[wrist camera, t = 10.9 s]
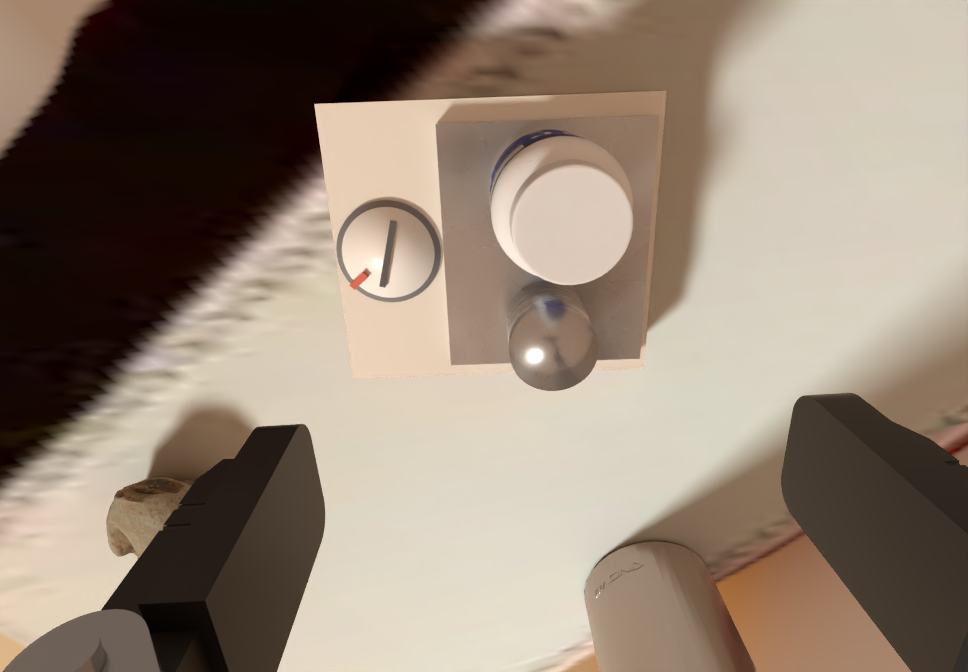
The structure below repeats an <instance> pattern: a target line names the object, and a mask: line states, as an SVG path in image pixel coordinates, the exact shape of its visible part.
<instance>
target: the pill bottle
mask: <svg viewBox="0 0 968 672" xmlns="http://www.w3.org/2000/svg"><path fill="white" fill-rule="evenodd" d="M489 192H490V210H491V221H492V225H493V229H494V232H495V235H496V238H497V240H498V242H499V244H500V246H501V247H502V249H503V250H504V252H505V253H506V254H507V255H508V256H509V258H510V259H511V260H512V261H513V262H514V263H516V264H517V265H518V266H519V267H521V268H522V269H524V270H525V271H527V272H529V273H531V274H533V275H535V276H538V277H540V278H542V279H544V280H546V281H549V282H552V283H556V284H561V285H577V284H583V283H587V282H589V281H592V280H595V279H597V278H599V277H601V276H602V275H604V274H605V273H607V272H608V271H609V270H611V269H612V268H613V267H614V266H615V265H616V264H617V263H618V261H619V260H620V259H621V257H622V256H623V254H624V253H625V251H626V249H627V247H628V245H629V242H630V239H631V236H632V231H633V196H632V190H631V186H630V183H629V180H628V178H627V176H626V174H625V172H624V170H623V168H622V167H621V165H620V164H619V163H618V162H617V160H616V159H615V158H614V157H613V156H612V155H611V154H610V153H609V152H608V151H606V150H605V149H604V148H602V147H601V146H599V145H598V144H596V143H594V142H592V141H589V140H587V139H584V138H581V137H579V136H576V135H573V134H571V133H568V132H565V131H561V130H556V129H543V130H537V131H533V132H530V133H527V134H525V135H523V136H521V137H519V138H518V139H516V140H515V141H513V142H512V143H511V144H510V145H509V146H508V147H507V148H506V149H505V150H504V151H503V152H502V154H501V155H500V157H499V158H498V160H497V162H496V164H495V166H494V168H493V171H492V175H491V179H490V188H489Z"/></svg>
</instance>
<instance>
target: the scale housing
mask: <svg viewBox="0 0 968 672" xmlns="http://www.w3.org/2000/svg"><path fill="white" fill-rule="evenodd" d="M666 96H667V91H641V92H615V93H588V94H562V95H536V96H510V97H484V98H457V99H431V100H405V101H379V102H353V103H327V104H314V105H315V112H316V119H317V126H318V133H319V140H320V148H321V155H322V162H323V169H324V176H325V183H326V190H327V197H328V204H329V212H330V219H331V226H332V233H333V240H334V247H335V254H336V261H337V269H338V276H339V283H340V290H341V297H342V304H343V311H344V318H345V325H346V333H347V340H348V347H349V354H350V361H351V368H352V375H353V378H381V377H411V376H440V375H469V374H498V373H516V372H515V371H514V369H513V367H512V365H511V363H503V364H474V365H451V359H450V344H449V328H448V313H447V297H446V281H445V266H444V250H443V235H442V219H441V204H440V188H439V173H438V157H437V142H436V126H435V124H436V123H451V122H477V121H504V120H530V119H557V118H583V117H609V116H636V115H659V126H658V138H657V151H656V163H655V176H654V188H653V201H652V214H651V226H650V239H649V251H648V264H647V276H646V289H645V302H644V314H643V327H642V339H641V352H640V359H620V360H597V361H596V364H595V366H594V368H593V370H615V369H644V360H645V348H646V336H647V324H648V312H649V300H650V288H651V276H652V264H653V252H654V240H655V228H656V216H657V204H658V192H659V180H660V168H661V156H662V144H663V132H664V120H665V108H666Z"/></svg>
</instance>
